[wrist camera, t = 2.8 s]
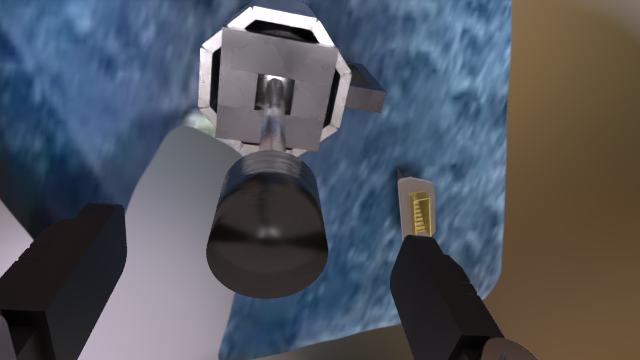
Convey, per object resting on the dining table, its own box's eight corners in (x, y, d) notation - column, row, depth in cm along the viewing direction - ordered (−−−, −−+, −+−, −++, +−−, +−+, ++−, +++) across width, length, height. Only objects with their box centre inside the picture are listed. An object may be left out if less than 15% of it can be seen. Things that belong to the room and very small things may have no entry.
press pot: (229, -15, 34) (198, -5, 21) (365, 13, 36) (414, 38, 23) (222, 90, 38) (193, 153, 25) (343, 110, 41) (373, 176, 28)
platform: (451, 116, 43) (478, 138, 37) (451, 237, 52) (473, 270, 46) (349, 137, 43) (360, 163, 37) (367, 254, 52) (378, 289, 46)
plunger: (226, 19, 24) (124, 116, 8) (335, 40, 25) (427, 158, 9) (219, 123, 27) (138, 334, 12) (315, 137, 29) (360, 344, 13)
